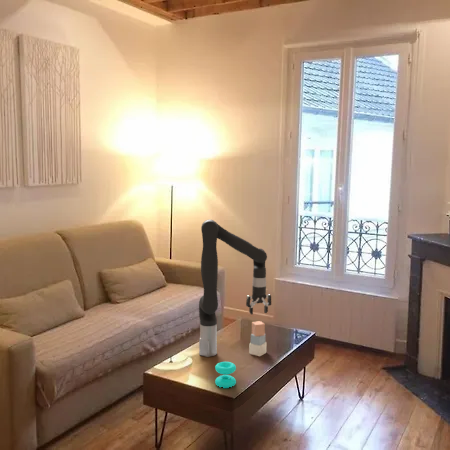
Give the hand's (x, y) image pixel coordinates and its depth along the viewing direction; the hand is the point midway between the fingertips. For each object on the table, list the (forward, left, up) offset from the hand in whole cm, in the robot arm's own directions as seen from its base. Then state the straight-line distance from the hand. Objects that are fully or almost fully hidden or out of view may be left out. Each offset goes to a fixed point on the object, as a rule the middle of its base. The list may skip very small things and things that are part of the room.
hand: (258, 313), depth 273 cm
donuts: (-43, -8, -23) cm, 49 cm away
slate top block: (0, 0, -17) cm, 17 cm away
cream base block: (0, 0, -23) cm, 23 cm away
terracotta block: (0, 0, -12) cm, 12 cm away
